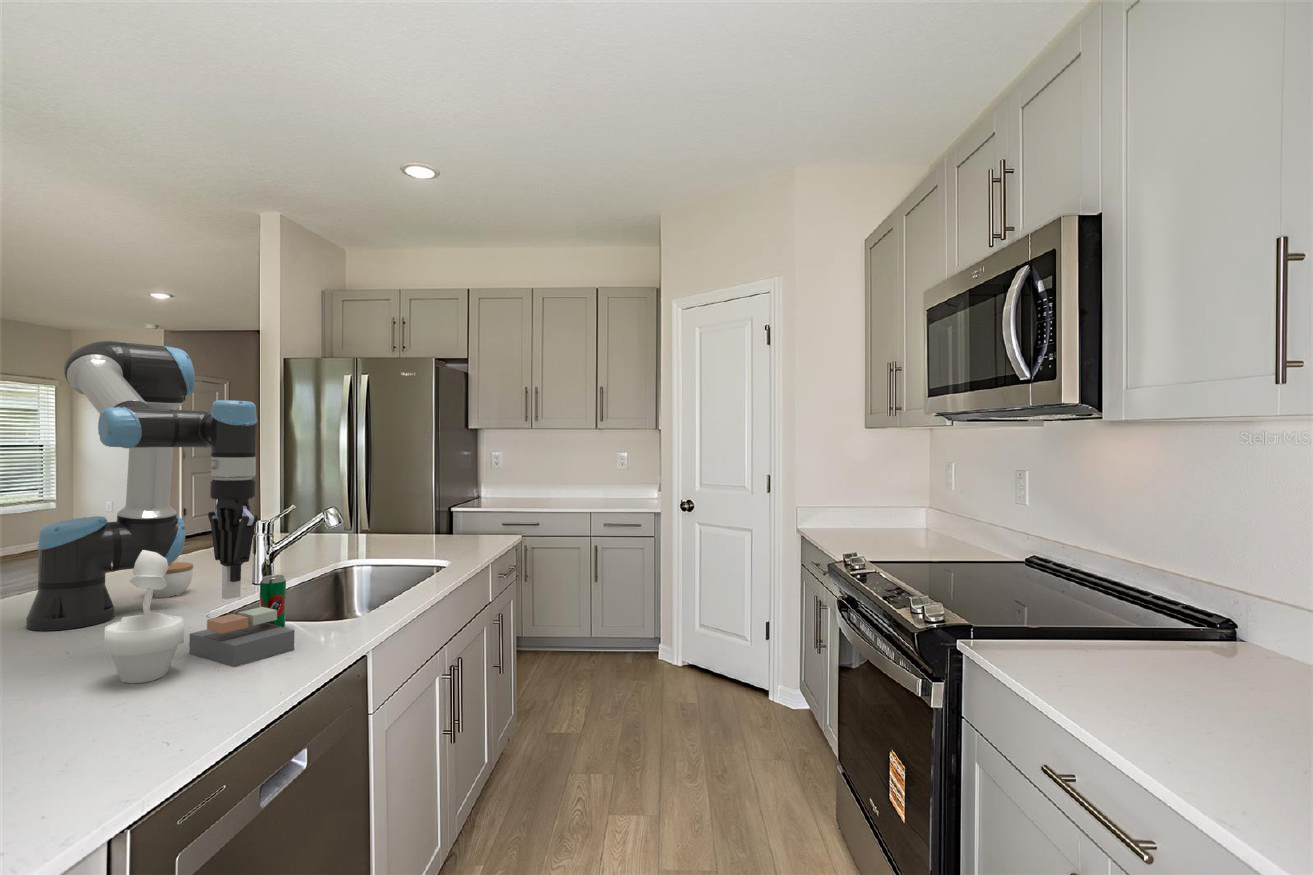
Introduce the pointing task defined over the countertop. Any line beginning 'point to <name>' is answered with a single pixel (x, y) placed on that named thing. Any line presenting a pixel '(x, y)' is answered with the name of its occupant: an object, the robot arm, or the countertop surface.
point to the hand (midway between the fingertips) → (231, 597)
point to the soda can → (274, 596)
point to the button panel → (242, 644)
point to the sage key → (259, 615)
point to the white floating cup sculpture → (145, 628)
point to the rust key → (227, 623)
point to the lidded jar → (176, 579)
